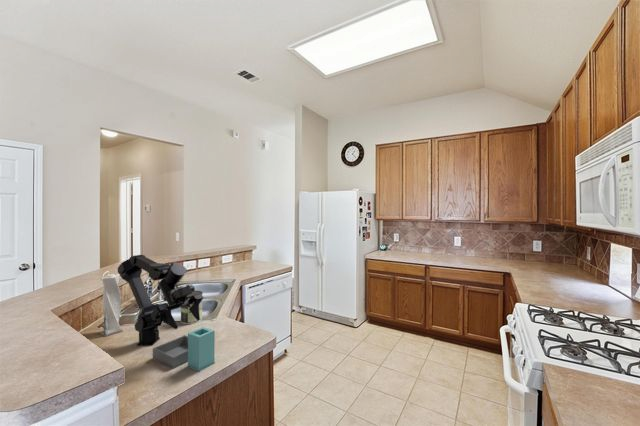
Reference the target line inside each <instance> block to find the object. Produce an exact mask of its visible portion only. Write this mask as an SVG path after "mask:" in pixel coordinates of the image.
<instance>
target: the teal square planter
mask: <svg viewBox="0 0 640 426" xmlns="http://www.w3.org/2000/svg"><path fill="white" fill-rule="evenodd" d="M187 336H188V362H187V367H188V368H190V369H193V370H194V371H197V372H198V373H199V372H201V371H204V370H205V369H207V368H208V367H210V366H212V365H214V364H215V349H216V348H215V347H216V346H215V344H216V343H215V341H216V338H215V330H214V329H212V328H207V327H203V326H202V327H200V328H197V329H195V330H193V331H190V332H188V333H187Z"/></svg>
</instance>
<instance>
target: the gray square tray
mask: <svg viewBox="0 0 640 426" xmlns="http://www.w3.org/2000/svg"><path fill="white" fill-rule="evenodd" d="M152 360H155V361H156V362H159V363H160V364H163V365H164V366H166V367H169V368H171V369H175V368H178V367H180V366H183V364H186V363H188V335H185V334H184V335H182V336H179V337H177V338H175V339H172V340H169V341H167V342H165V343H163V344H159V345H158V346H155V347H152Z"/></svg>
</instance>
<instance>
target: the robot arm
mask: <svg viewBox="0 0 640 426" xmlns="http://www.w3.org/2000/svg"><path fill="white" fill-rule="evenodd" d="M143 271H145V272H147V273H148V277H149V278H150V279H151V280H152V281H154V282H155V281H159V280H160V281H159V282H158V283H157V286H156V287H157V288H156V290H160V291H161V293H162V295H163V299H162V300H163V301H164V302H165V303H160V304H158V303H155V304H154V303H153V302H152V300H151V298H150V296H149V294H148V291H147V288H146V286H145V284H144V281H143V280H142V277H141V276H142V272H143ZM186 273H187V269H186V267H185V266H184V265H183V264H179V263H178V262H177V261H175V262H174V261H173V262H171V264H168V263H161V262H160V263H158V262H156V261H155V260H152V259H150V258H149V257H146V255H145V254H137V255H132V256H130V257H129V258H128V259H126V260H124V261H123V262H121V263H120V264H119V265H118V267H117V274H120V276H121V277H120V279H122V280H124V282H127V283H128V285H129V287H130V290H131V291H132V295H133V298H134V299H135V302H136V304H137V307H138V309H139V311H138V315H137V320H136V323H135V324H134V330H135V331H136V332H138V342H137V343H136V346H153V345H155V343H157V342H158V341H159V340H160V339H161V337H160V330H159V327H161V326H162V324H163V323H164V324H167V325H168V326H169V327H171V328H173V329H174V330H177V329H178V328H179V327H178V323H177V321H175V319H174V317H173V315H172V311H174V310H177V309H179V308H180V309H181V307H183V306H187V305H188V307H190V309H189V310H190V311H191V313H192V314H193V316H194V317H195V318H196V319H197V320H198V321H199V320H200V315H199V304H200V302H201V301H202V302H203V300H204V295H203V294H195V295H192V296H191V297H190V299H189V300H186V301H185V299H187V297H188V296H187V295H189V294H192V292H193V291H196V290H195V286H194V285H193V283H188V284H187V285H185V286H184V287H179V286H178V284H179V283H180V282H181V280H182V279H183V277H184V276H185V274H186Z"/></svg>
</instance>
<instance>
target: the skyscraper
mask: <svg viewBox="0 0 640 426" xmlns="http://www.w3.org/2000/svg"><path fill="white" fill-rule="evenodd" d="M106 273H108V274H107V276H105V274H106ZM120 279H121V276H120V274H119V273H117V274H113V273H112V274H110V271H109V270H107V271H105V272H103V275H102V277H101V282H102V284H103V288H104V289H103V293H102V294H103V295H102V312H103V325H104V326H103V330H101V331H99V332H98V333H99V335H102V336H103V337H108V336H111V335H114V334H117V333H121V332H123V331H124V330H123V329H122V328H121V325H120V324H119V323H120V322H119V321H120V316H121V310H122V294H121V290H120V287H119V284H120Z"/></svg>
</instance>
